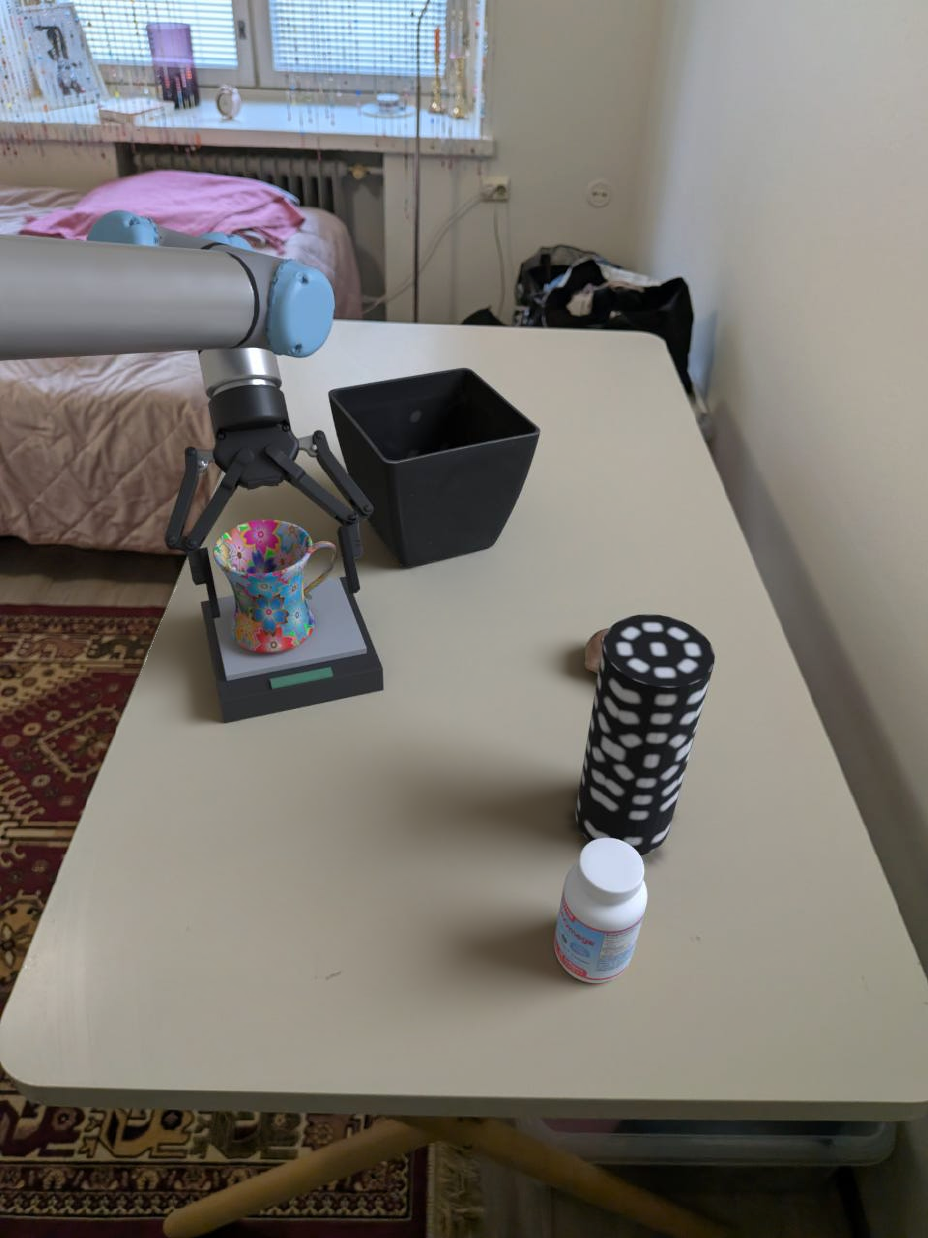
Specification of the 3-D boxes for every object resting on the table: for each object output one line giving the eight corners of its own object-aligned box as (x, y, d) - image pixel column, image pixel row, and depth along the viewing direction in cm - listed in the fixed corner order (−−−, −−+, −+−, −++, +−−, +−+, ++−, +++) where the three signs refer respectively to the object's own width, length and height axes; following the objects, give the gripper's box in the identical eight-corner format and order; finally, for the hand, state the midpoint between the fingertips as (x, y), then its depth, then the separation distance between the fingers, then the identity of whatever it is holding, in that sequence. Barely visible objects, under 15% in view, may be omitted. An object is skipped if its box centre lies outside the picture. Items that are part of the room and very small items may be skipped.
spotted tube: (677, 857, 79) (726, 688, 66) (581, 856, 79) (611, 687, 66) (660, 782, 86) (701, 614, 73) (570, 781, 85) (596, 613, 73)
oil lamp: (572, 698, 95) (649, 717, 93) (575, 673, 92) (655, 692, 90) (590, 636, 101) (663, 653, 99) (593, 611, 98) (669, 627, 96)
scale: (224, 723, 90) (218, 695, 87) (204, 622, 101) (199, 595, 99) (383, 690, 94) (382, 662, 92) (347, 596, 106) (345, 570, 103)
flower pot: (464, 479, 126) (468, 362, 115) (533, 553, 113) (545, 429, 102) (333, 510, 119) (324, 389, 109) (390, 592, 106) (386, 464, 96)
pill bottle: (540, 930, 73) (553, 842, 66) (608, 906, 75) (627, 818, 68) (575, 998, 69) (593, 912, 62) (646, 971, 71) (671, 884, 64)
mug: (243, 672, 90) (228, 585, 83) (216, 617, 96) (201, 532, 89) (358, 638, 94) (353, 552, 88) (325, 587, 101) (318, 504, 94)
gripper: (362, 393, 99) (402, 587, 97) (118, 422, 92) (157, 631, 91) (373, 366, 91) (417, 575, 90) (109, 396, 85) (151, 622, 83)
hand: (287, 604), depth 90 cm, fingers open, 13 cm apart
